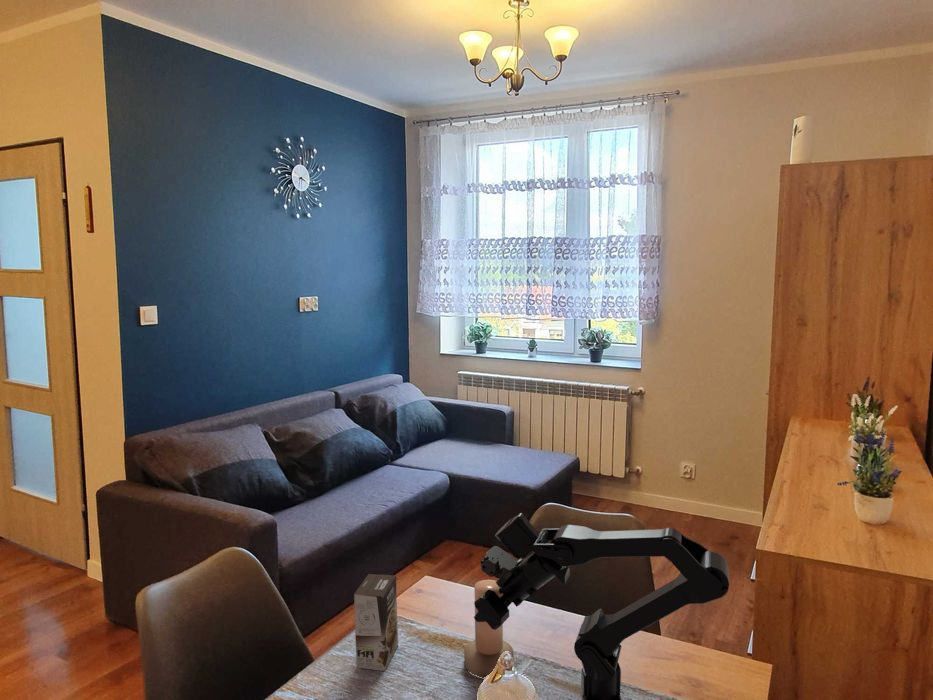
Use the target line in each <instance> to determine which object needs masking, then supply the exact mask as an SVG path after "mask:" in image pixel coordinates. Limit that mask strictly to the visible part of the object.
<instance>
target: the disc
mask: <svg viewBox="0 0 933 700" xmlns="http://www.w3.org/2000/svg"><path fill="white" fill-rule="evenodd" d="M505 651H509V652H511V654H512V657H513V658H514V649H513V647H512V645H511V644H510V643H508V642H507V641H506V640H504V639H503V649H502V650H501V651H500V652H499V653H497V654H493V655H486V654H482V653H480V652H478V651H477V650H476V647H475V639H474V640H472V641H470V642H469V643H468V644H466V646H465V648H464V650H463V652H464V653H463V657H464V659H463V660H464V662H463V664H465V665H464V668H465V667H466V669H467V670H468V671H469V672H471V673H472V674H474V675H477V676H479V677H482V678H484V677H486V676H487V675H489V674H490V673H491V672H492V671H493V669H494V668H495V666H496V664H497V661H498V659H499V657H500V655H501V654H502V653H503V652H505ZM466 669H465V670H466ZM467 670H466V671H467Z"/></svg>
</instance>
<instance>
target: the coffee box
mask: <svg viewBox="0 0 933 700" xmlns="http://www.w3.org/2000/svg"><path fill="white" fill-rule="evenodd" d="M353 595H354V596H353V597H354V603H353V604H354V628H355V634H354V635H355V655H356V656H355V660H356V661H355V664H356V668H358V669H366V670H367V669H368V670H374V671H379V672H380V671H381V672H384V671H386V669H387V667H388V666H389V664H390V662H391V660H392V658H393V656H394V654H395V652H396V650H397V649H398V647H399V635H398V634H399V631H398V630H399V628H398V604H397V603H398V598H397V597H398V596H397V595H398V594H397V576H396V575H392V574H391V575H390V574H373V573H368V574H367V575H366V577H364V579H363V581H362V583H361V584H360V586H358V588H357V590H356V591H355V592H354V594H353Z"/></svg>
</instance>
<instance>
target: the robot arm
mask: <svg viewBox="0 0 933 700" xmlns="http://www.w3.org/2000/svg"><path fill="white" fill-rule="evenodd" d="M494 536H495V537H496V538H497V539H498V541H499V542H500V543H501V544H502V545H503V547H504V548H505V549H506V550H507V551H508V552H509V553H508V552H507V551H505V550H504V549H503V548H502V547H499V546H498V545H493V546H492V547H491V548H489V550H488V551H486V553H485V554H484V557H483V558H482V559H481V560H480V570H481V571H482V572H483V573H485V574H486V575H487V576H488V577H490V578H496V579H497V580H495V581H496V584H497V585H498V586H499V587H500V588H499V589H498V592H499V593H500V594H502V596H501V597H500V598H499V596H498V595H497V594H496V592H495V591H492V590H489V589H488V590H487V591H486V592H485V593H484V594H482V595H481V596H480V597H479V598H478V599H477V600H476V601H475V600H474V602H473V603H474V604H473V605H474V608H475V607H476V608H477V610H478V612H477V614H476V615H475V614H474V616H473V619H474V621H475V620H476V621H477V622H487V623H488V624H489V626H490V627H491V628H492V629H494V630H496V629H497V628H499V627H500V626H501V625H502V624H504V623H505V622H507V620H508V619H509V618H510V609H509V606H510V605H512V603H513V605H514V606H515V607H516V608H517V607H519V606H520V605H521V604H522V603H523V602H524V601H525V600H526V599H527V598H528V597H533V595H535V593H536V592H537V591H538V590H539V589H540V588H541V587H543V586H544V585H546V584H547V583H548V582H550V581H551V580H553V578H555V577H556V578H557V580H558V581H559V582H560V583H561V584H562V585H565V584H566V582H568V581H567V580H568V579H569V577H570V575H571V570H570V567H573V566H575V567H576V566H579V565H583V564H584V565H585V564H587V563H589V562H591V561H594V560H596V559H602V558H648V557H649V558H652V557H653V558H655V557H656V558H657V557H664V558H665V559H667V560H668V561H669V562H671V564H672V565H673V566H674V567H675V568H676V569H677V570H678V571H679V574H678V575H677V576H676V578H674V579H673V580H671V581H669V582H667V583H666V584H664V585H662V586H660V587H658V588H657V589H655V590H653V591H652V592H650V593H648V594H646V595H644V596H643V597H642V598H639V599H638V600H636V601H635V602H632V603H631V604H629V605H627V606H625V607H624V608H622V609H620V610H619V611H617V612H615V613H612V614H611V613H610V614H605V612H604V611H603V609H602V608H598V609H597V610H596V611H595V612H594V613H592V614H591V615H585V616H584V618H583V621H582V623H581V625H580V628H579V630H578V633H577V637H576V639H575V642H574V645H573V646H574V647H573V650H574V654H575V655H576V657H577V658H578V659H579V660H580V662H581V664H582V668H581V679H580V680H581V681H580V682H581V683H580V688H581V692H582V695H583V697H584V698H585V700H623V699H622V696H621V686H622V684H621V680H622V679H621V676H622V669H621V666H620V663H619V659H620V654H621V650H622V645H621V644H622V642H623V641H624V640H626V639H628V638H629V637H631V636H633V635H635V634H637V633H638V632H640V631H642V630H644V629H645V628H648V627H650V626H651V625H654V623H656V622H658V621H660V620H662V619H664V618H666V617H667V616H669V615H671V614H673V613H675V612H676V611H678V610H680V609H682V608H684V607H686V606H688V605H704V604H707V603H710V602H713V601H716V600H719V599H721V598H722V599H723V598H724V597H725V596H726V595H727V594H728V592H729V590H730V589H729V587H730V575H729V574H730V570H729V565H728V562H727V560H726V559H725V558H724V556H722V555H721V554H719V553H717V552H714V551H711V550H709V549H708V548H707V547H705V546H704V545H703V544H701V543H699V542H698V541H696V540H694V539H692V538H690V537H687V536H685V535H684V534H683V533H682V532H680V531H679V530H678V529H676V528H674V527H666V528H661V529H638V530H637V529H635V530H633V529H632V530H631V529H630V530H603V531H602V530H601V531H600V530H595V529H592V528H590V527H587V526H581V525H576V524H575V525H574V524H565V525H562V526H560V527H559V528H557V527H556V528H552V527H551V528H542V529H541V531H540V532H539V531H538V530H537V529H536V527H534V526H533V524H532V523H531V522H530V521H529V520H528V518H527V516H526V515H525V514H524V513H522V512H520V513H519V514H518V515H516V516H514V517H513V518H512V517H511V518H510V519H509V520H508V521H507V522H506V523H505V524H504V525H502V526H501V528H500V529H499V530H498V531H497V532H496V533H495V534H494ZM550 541H551V542H550ZM532 552H533V553H532ZM528 555H529V556H528ZM527 556H528V557H527ZM515 558H516V559H517V560H516V559H515Z"/></svg>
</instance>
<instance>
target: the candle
mask: <svg viewBox="0 0 933 700" xmlns="http://www.w3.org/2000/svg"><path fill="white" fill-rule="evenodd" d="M496 581H497V580H494V579H483V580H479V581H477V582H476V583H475V584H474V602H475V601H476V600H477V599H478V598H479V597H480V596H481V595H482V594H484V593H485V592H486V591H487V590H488V589H489V590H492V591H495V592H496V594H497V595H498V596H499V598H500V597H501V596H502V594H500V593H499V592H498V589H499V588H500V587H499V586H498V585H497V584H496ZM477 612H478V610H477V608H476V607H475V606H474V616H475V615H476V614H477ZM503 624H504V623H503ZM503 624H502V625H501V626H500V627H499V628H497V629H496V630H494V629H492V628H491V627H490V626H489V624H488V623H487V622H477V621H476V620H475V619H474V640H475V647H476V650H477V651H478V652H480V653H482V654H486V655H493V654H497V653H499V652H500V651H501V650H502V649H503V640H504V628H503V627H504V625H503Z"/></svg>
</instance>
